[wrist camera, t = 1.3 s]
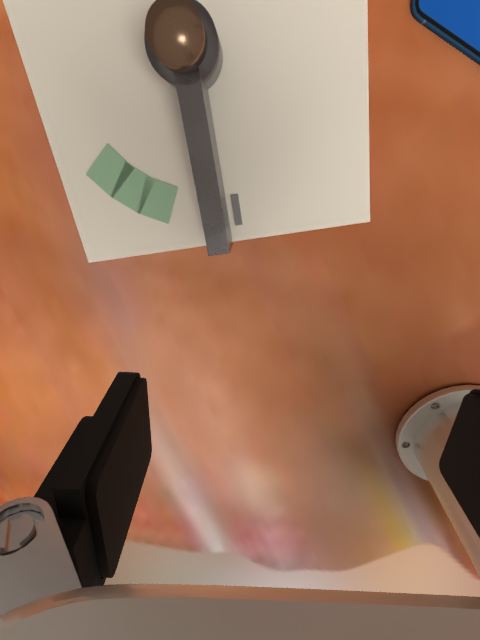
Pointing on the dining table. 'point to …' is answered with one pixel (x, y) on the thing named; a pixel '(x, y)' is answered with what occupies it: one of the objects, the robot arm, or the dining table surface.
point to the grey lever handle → (193, 100)
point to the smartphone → (452, 22)
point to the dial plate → (227, 112)
